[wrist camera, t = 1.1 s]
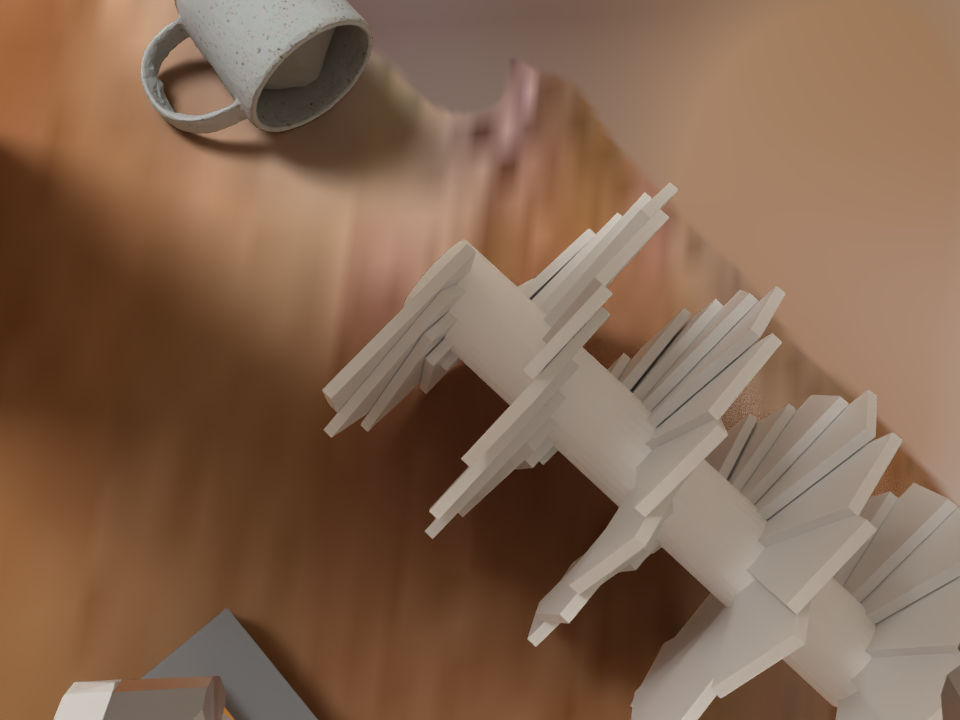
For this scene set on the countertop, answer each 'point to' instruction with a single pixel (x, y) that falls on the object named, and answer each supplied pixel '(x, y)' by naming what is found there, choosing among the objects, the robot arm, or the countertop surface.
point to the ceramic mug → (264, 59)
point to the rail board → (235, 672)
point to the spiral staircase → (689, 478)
